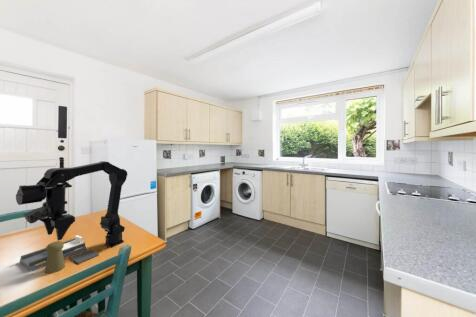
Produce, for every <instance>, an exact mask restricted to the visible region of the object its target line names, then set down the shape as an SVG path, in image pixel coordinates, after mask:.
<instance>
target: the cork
mask: <svg viewBox="0 0 476 317" xmlns="http://www.w3.org/2000/svg"><path fill="white" fill-rule="evenodd" d="M63 242H64V241H62V240H56V241H54V242H53V241H52V242H50V243H48V245H47V246H46V247H45V248H46V251H47V252H48V256H47V262H46V266H45V268H44V269H45V270H44V273H45V274H55V273H57V272H61V271H62V270H63V269H65V267H66V264H65V258H64V257H63V253H62V248H63V246H64V244H63Z"/></svg>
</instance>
